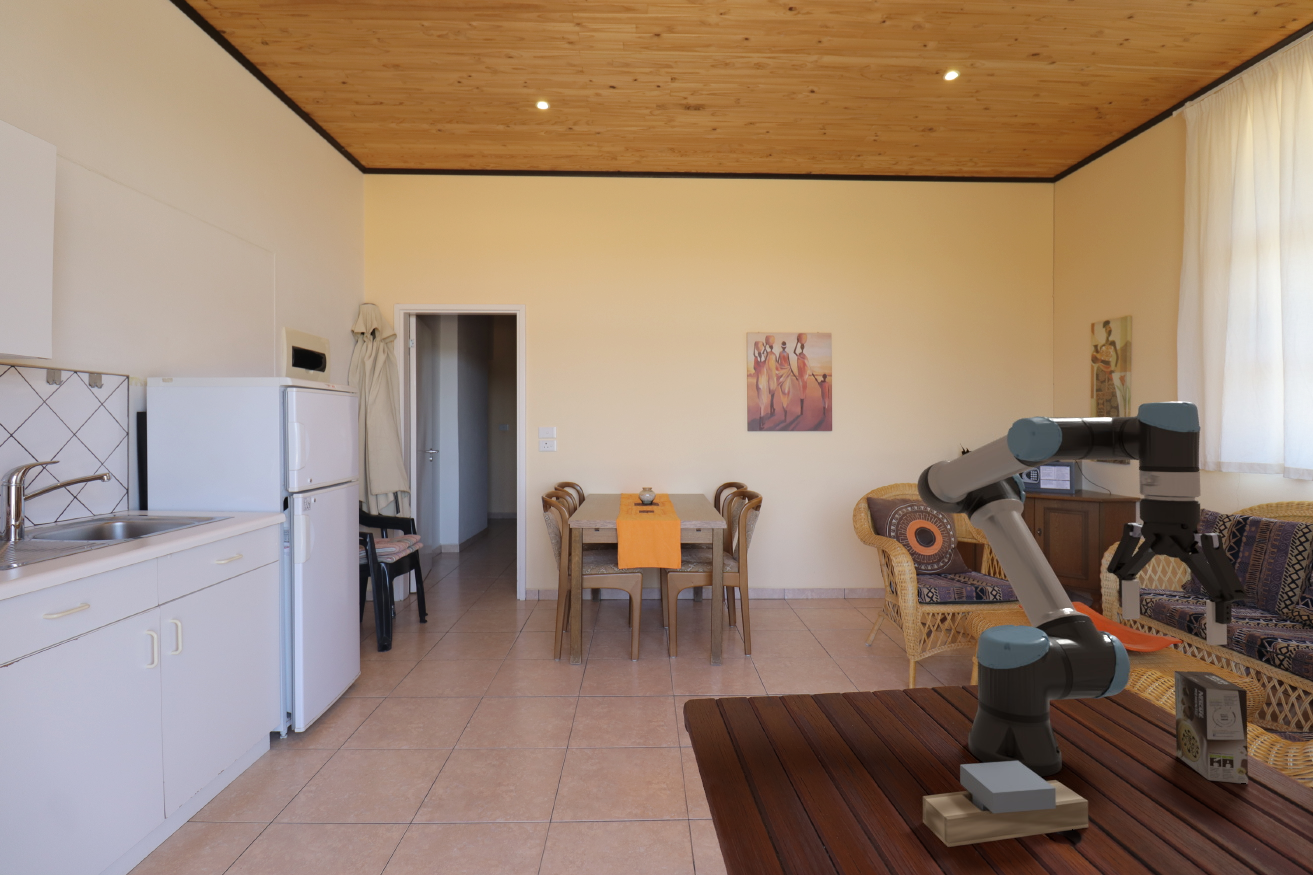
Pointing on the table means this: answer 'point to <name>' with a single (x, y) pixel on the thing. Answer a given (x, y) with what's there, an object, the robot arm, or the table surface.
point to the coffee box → (1211, 726)
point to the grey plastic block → (1006, 787)
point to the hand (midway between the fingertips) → (1171, 630)
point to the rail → (1000, 818)
